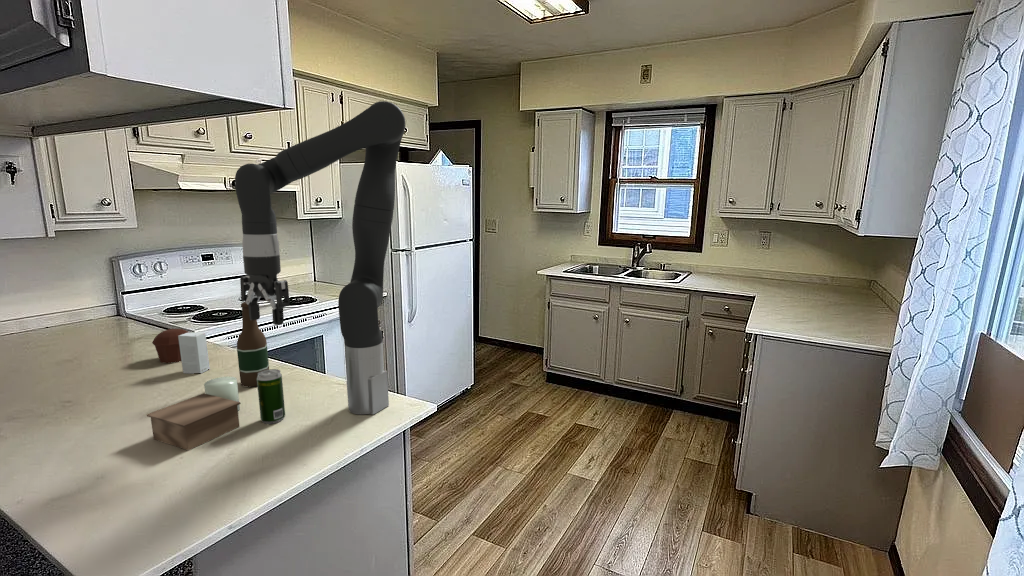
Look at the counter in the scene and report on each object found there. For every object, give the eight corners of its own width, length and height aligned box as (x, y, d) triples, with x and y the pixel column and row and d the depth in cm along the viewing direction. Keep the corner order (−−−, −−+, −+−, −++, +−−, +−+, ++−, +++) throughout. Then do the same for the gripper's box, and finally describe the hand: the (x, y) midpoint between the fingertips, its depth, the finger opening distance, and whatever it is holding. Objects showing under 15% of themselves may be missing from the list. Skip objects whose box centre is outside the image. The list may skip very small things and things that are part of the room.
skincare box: (210, 369, 153) (206, 332, 151) (200, 374, 149) (196, 336, 146) (192, 368, 153) (187, 331, 151) (182, 373, 149) (177, 335, 147)
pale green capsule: (246, 408, 124) (243, 379, 123) (220, 420, 118) (216, 388, 117) (227, 404, 127) (224, 375, 126) (201, 414, 121) (197, 384, 119)
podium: (242, 426, 115) (240, 402, 114) (187, 452, 103) (184, 425, 102) (206, 416, 120) (203, 393, 119) (149, 439, 108) (146, 414, 107)
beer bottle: (243, 390, 136) (235, 306, 132) (238, 382, 142) (229, 301, 138) (273, 383, 141) (266, 302, 137) (266, 375, 147) (259, 298, 143)
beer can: (290, 417, 120) (286, 370, 118) (271, 426, 115) (267, 378, 113) (274, 413, 122) (270, 367, 120) (255, 422, 117) (251, 374, 115)
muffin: (147, 365, 157) (142, 335, 155) (166, 354, 167) (162, 326, 166) (186, 363, 158) (182, 333, 156) (203, 353, 169) (200, 325, 167)
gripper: (296, 254, 112) (300, 322, 115) (256, 250, 119) (261, 314, 122) (266, 257, 106) (271, 329, 108) (226, 252, 112) (232, 321, 115)
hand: (266, 321), depth 115 cm, fingers open, 8 cm apart
